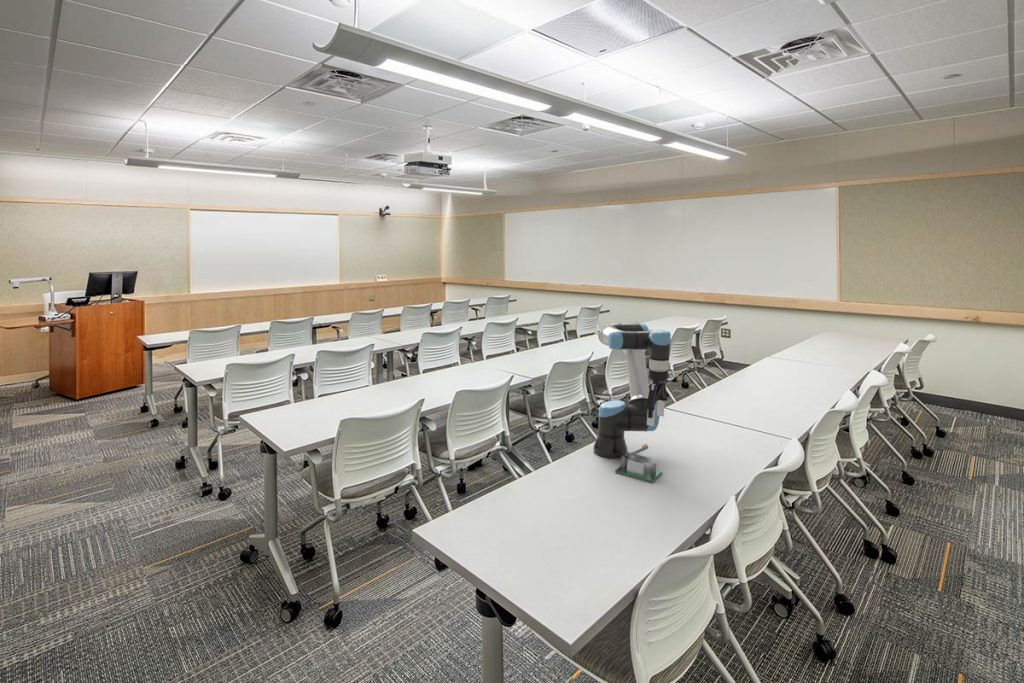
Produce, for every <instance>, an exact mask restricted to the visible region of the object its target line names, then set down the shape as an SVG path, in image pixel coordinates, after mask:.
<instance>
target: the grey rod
mask: <svg viewBox="0 0 1024 683" xmlns="http://www.w3.org/2000/svg"><path fill="white" fill-rule="evenodd" d="M648 449H650V447H649V446H648V444H647V443H645V444H643V445H642V446H641V448H638V449H636V450H634V451H631V452H628V453H629V454H627V455H625V456H626V458H628V457H629V458H631V457H633V455H635V454H636V455H638V454H639V453H642V452H644V451H646V450H648Z"/></svg>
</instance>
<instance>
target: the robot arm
mask: <svg viewBox="0 0 1024 683" xmlns="http://www.w3.org/2000/svg"><path fill="white" fill-rule="evenodd" d="M597 336H598V340H599V341H600V343H601V344H603V345H604V346H608V348H609V349H610V350H616V351H618V350H622V352H623V353H624V354H625V355H626V363H627V365H626V366H627V374H628V384H629V393H630V399H629V400H628V401H627V404H626V402H625V401H623V400H608V401H604V402H603V403H601V404H600V405H599V408H598V409H599V410H598V425H597V426H598V428H597V432H598V433H597V436H596V440H595V442H594V444H593V453H594V454H595V455H596V456H599V457H601V458H603V459H604V458H605V459H621V458H622V455H623V456H625V453H628V445H627V442H626V439H625V432H645V433H646V432H655V431H656V430H657V428H658V426H659V423H660V417H665V404H666V401H668V395H667V386H666V385H667V384H666V381H668V379H669V367H670V365H671V362H670V352H671V344H672V343H671V342H672V337H671V336H672V335H671V332H670V331H668V330H665V329H657V330H656V329H655V330H653V329H649V328H648V326H647V324H646V323H643V322H642V323H641V322H610V323H607V324H605V325H603V326H602V327H601V328H600V329H599V331H598V335H597ZM646 351H649V361H648V362H649V364H648V369H649V370H647V361H646V355H645V354H646V353H645V352H646ZM649 380H652V383H650V384H649ZM656 403H657V404H656Z"/></svg>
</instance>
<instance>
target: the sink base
mask: <svg viewBox="0 0 1024 683" xmlns="http://www.w3.org/2000/svg"><path fill="white" fill-rule="evenodd" d="M629 453H630V452H627V453H625V455H627V454H629ZM620 459H621V461H620V462H621V464H620V466H619V467H618V468H616V469H615V471H614V473H615V474H619V475H620V476H621V475H622V476H625V477H629V478H634V479H636V480H641V481H643V482H648V483H651V484H653V483H654V482H655V481H657V479H658V478H659V477H660V476H661V475H662V474H663V471H662V470H660V469H657V464H656V463H653V464H652V465H651V463H652V460H651V457H647V456H644V455H639V454H635V455H633V456H632V458H631V457H628V458H626V456H623V455H622V458H620Z"/></svg>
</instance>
